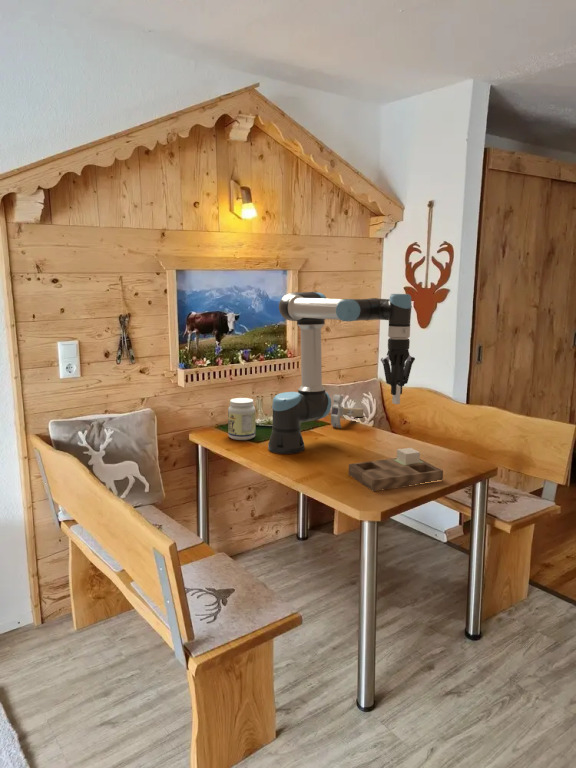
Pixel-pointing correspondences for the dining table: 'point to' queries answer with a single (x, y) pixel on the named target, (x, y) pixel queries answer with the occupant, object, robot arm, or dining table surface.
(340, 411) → the hammer
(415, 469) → the board
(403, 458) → the block
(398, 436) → the dining table surface
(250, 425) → the supplement tub
